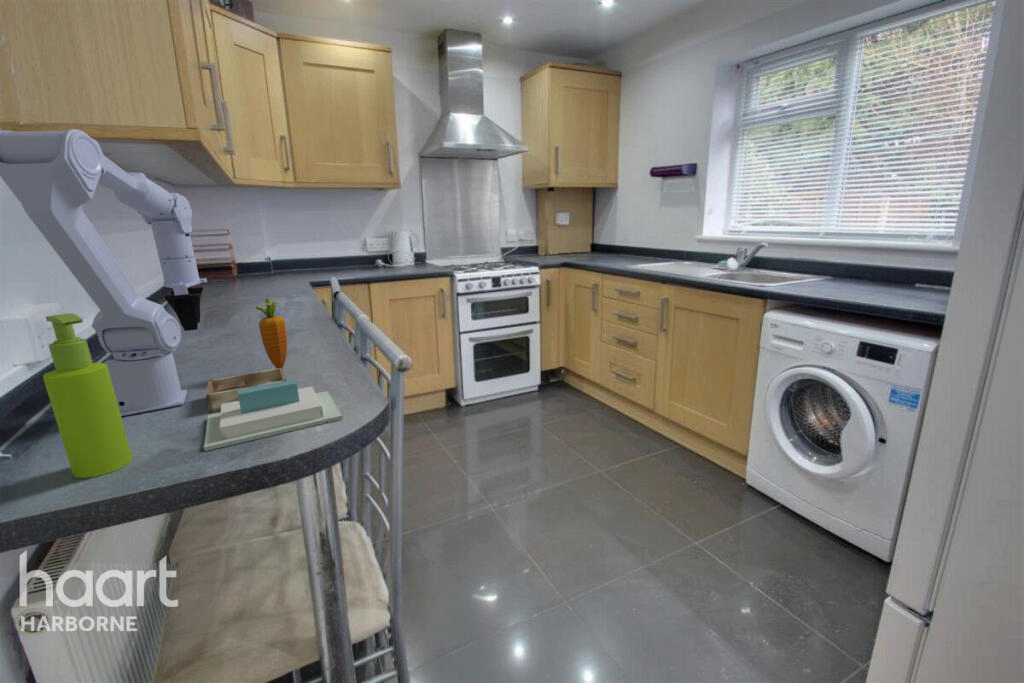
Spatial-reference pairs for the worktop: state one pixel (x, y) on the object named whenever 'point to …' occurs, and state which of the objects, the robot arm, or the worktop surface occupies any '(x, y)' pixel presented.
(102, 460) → the soap dispenser
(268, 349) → the carrot
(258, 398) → the lid
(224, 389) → the storage box
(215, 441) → the mat
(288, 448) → the worktop surface
